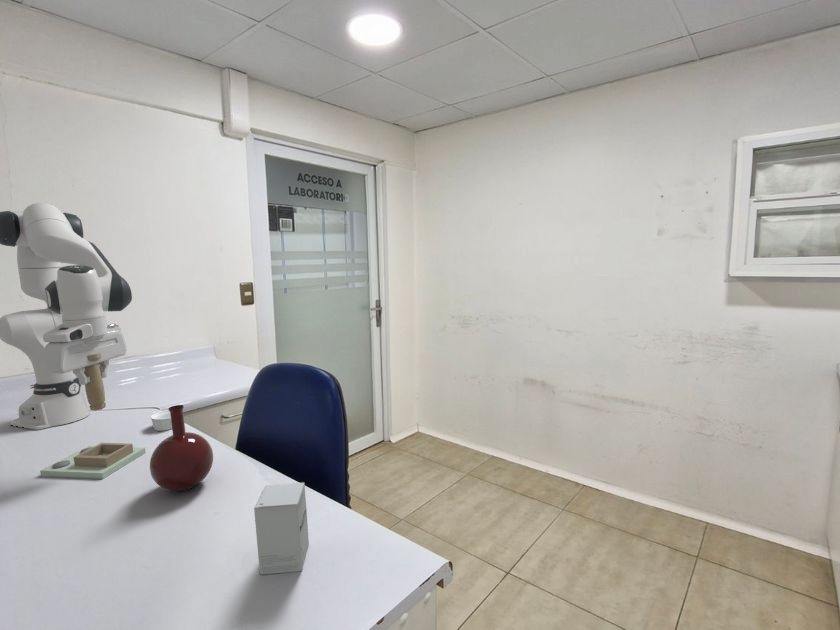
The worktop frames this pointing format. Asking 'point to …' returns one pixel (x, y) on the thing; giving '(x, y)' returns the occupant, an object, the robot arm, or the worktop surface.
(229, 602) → the worktop surface
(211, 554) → the worktop surface
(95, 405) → the handle
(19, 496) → the worktop surface
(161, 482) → the round-bottom flask
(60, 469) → the green board with frame
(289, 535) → the supplement box
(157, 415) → the ramekin
